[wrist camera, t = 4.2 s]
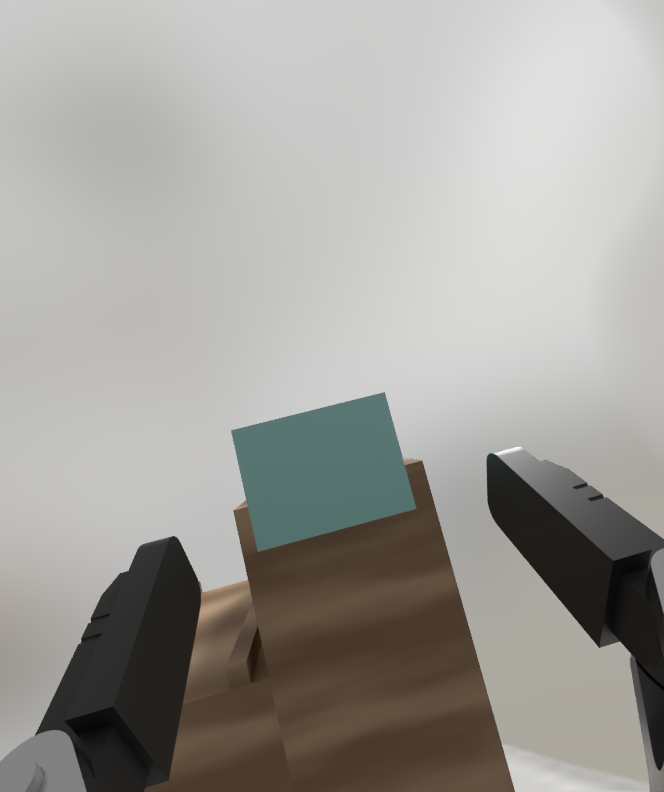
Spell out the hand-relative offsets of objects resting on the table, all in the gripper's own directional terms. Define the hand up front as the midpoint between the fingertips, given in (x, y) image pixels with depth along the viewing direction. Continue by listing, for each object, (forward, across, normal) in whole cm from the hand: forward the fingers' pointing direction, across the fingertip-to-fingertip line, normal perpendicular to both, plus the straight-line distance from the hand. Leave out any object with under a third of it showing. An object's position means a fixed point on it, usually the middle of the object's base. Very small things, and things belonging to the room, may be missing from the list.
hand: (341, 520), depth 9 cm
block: (+11, 0, +6) cm, 13 cm away
